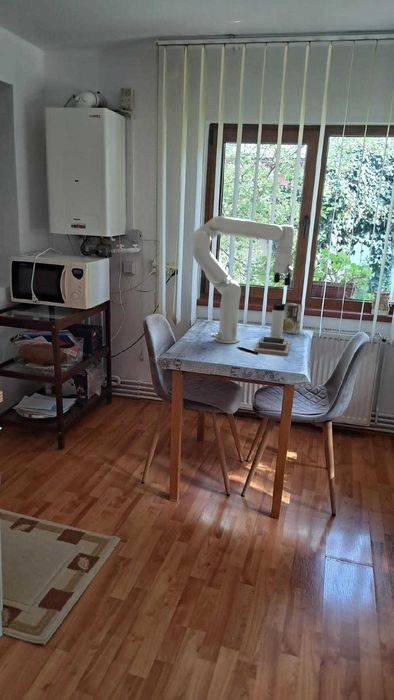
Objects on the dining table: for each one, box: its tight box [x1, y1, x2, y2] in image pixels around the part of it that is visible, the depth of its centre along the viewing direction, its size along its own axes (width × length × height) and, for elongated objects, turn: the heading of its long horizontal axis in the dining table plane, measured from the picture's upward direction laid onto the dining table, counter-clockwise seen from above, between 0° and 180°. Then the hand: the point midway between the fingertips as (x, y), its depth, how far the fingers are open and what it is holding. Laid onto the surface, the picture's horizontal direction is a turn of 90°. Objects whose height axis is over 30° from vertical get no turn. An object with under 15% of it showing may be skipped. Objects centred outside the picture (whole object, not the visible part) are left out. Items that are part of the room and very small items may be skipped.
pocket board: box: [253, 335, 291, 357], centre depth 244 cm, size 22×16×4 cm
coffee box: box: [283, 302, 303, 335], centre depth 278 cm, size 9×6×16 cm
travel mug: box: [269, 303, 286, 338], centre depth 257 cm, size 6×7×20 cm
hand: (281, 283), depth 252 cm, fingers open, 9 cm apart
